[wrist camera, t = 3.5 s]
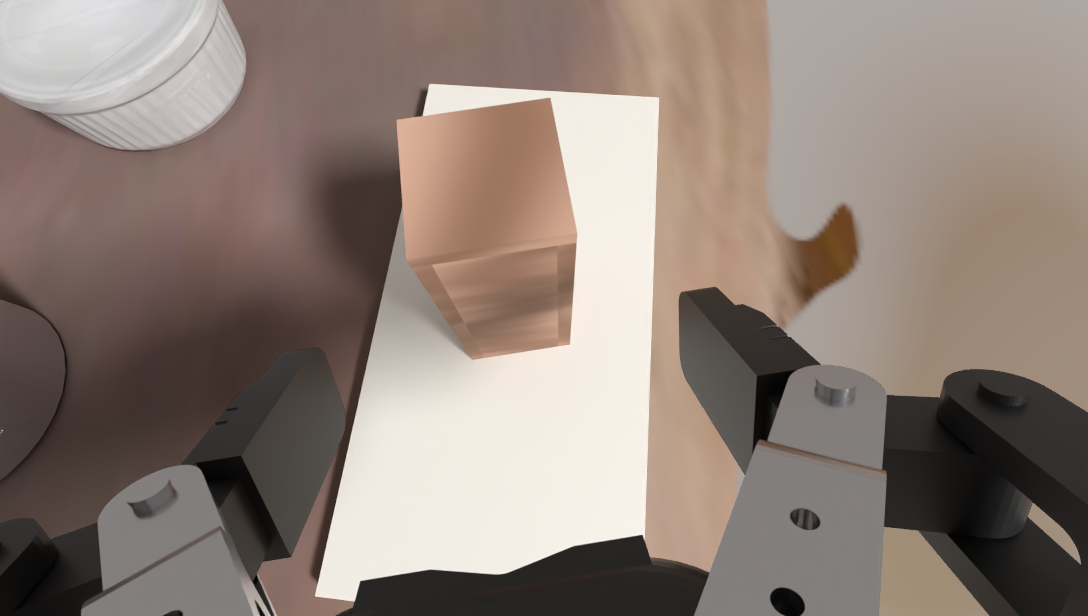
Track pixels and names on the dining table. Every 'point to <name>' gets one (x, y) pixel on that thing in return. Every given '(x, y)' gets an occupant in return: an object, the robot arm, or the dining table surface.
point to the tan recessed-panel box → (491, 224)
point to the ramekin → (123, 66)
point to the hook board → (512, 386)
